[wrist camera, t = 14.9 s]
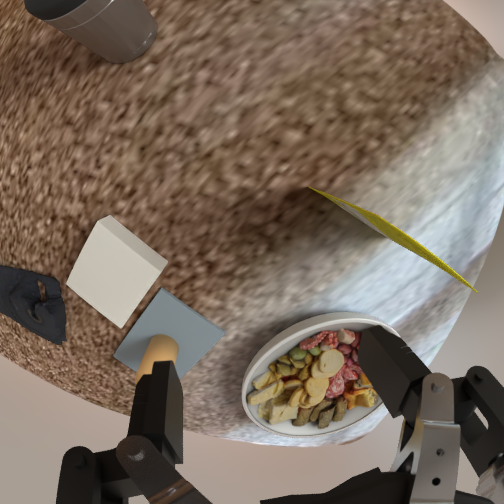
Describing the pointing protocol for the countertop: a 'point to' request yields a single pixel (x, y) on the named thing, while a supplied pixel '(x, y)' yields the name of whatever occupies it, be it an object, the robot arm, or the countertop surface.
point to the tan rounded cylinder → (157, 353)
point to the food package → (393, 234)
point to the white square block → (114, 270)
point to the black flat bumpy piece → (33, 303)
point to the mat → (170, 333)
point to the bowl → (312, 378)
